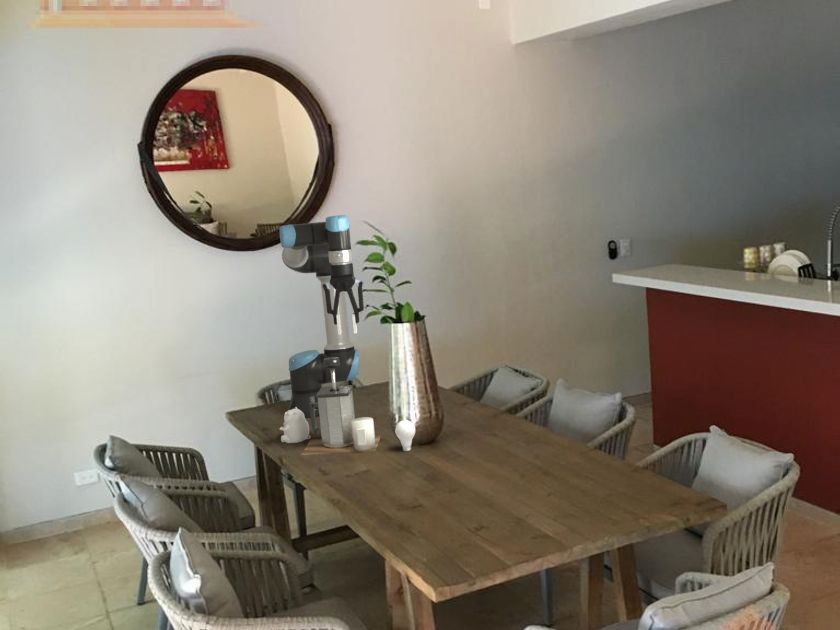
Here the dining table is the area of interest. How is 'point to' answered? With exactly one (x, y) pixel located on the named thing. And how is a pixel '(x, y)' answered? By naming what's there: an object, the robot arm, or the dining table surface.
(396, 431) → the lightbulb
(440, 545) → the dining table surface
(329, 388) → the carafe
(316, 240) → the robot arm
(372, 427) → the mug
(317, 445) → the board
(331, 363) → the plunger
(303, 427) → the figurine
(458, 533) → the dining table surface
